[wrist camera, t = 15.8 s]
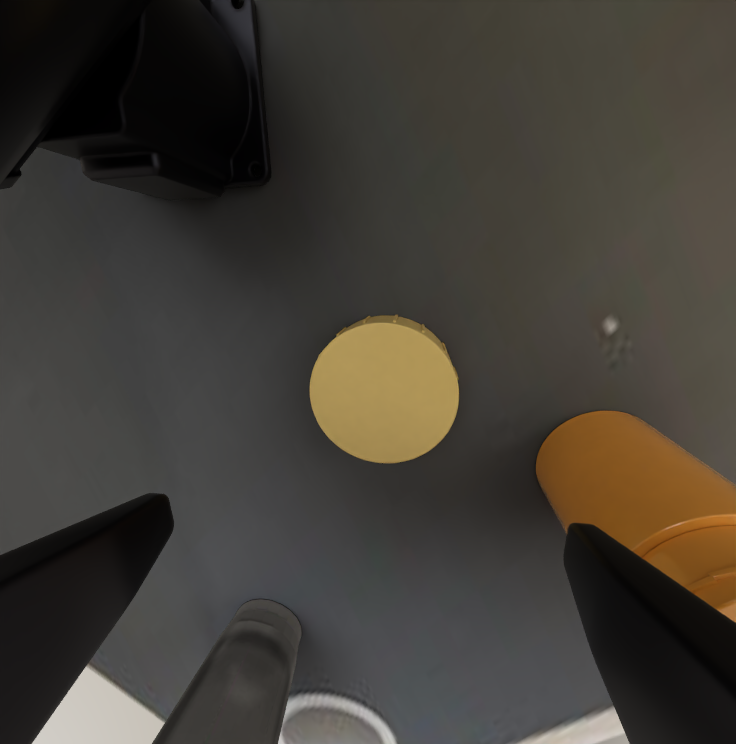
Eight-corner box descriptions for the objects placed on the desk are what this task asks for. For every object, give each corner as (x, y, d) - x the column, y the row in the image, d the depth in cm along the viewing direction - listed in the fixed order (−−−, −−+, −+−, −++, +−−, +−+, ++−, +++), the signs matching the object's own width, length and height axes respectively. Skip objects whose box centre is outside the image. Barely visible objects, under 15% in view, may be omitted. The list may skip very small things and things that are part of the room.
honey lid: (424, 458, 18) (425, 484, 16) (307, 414, 18) (292, 434, 16) (477, 342, 16) (485, 354, 14) (344, 294, 16) (332, 299, 14)
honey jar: (542, 408, 16) (679, 567, 8) (676, 411, 15) (995, 593, 7) (529, 510, 18) (631, 734, 9) (650, 518, 17) (882, 770, 9)
